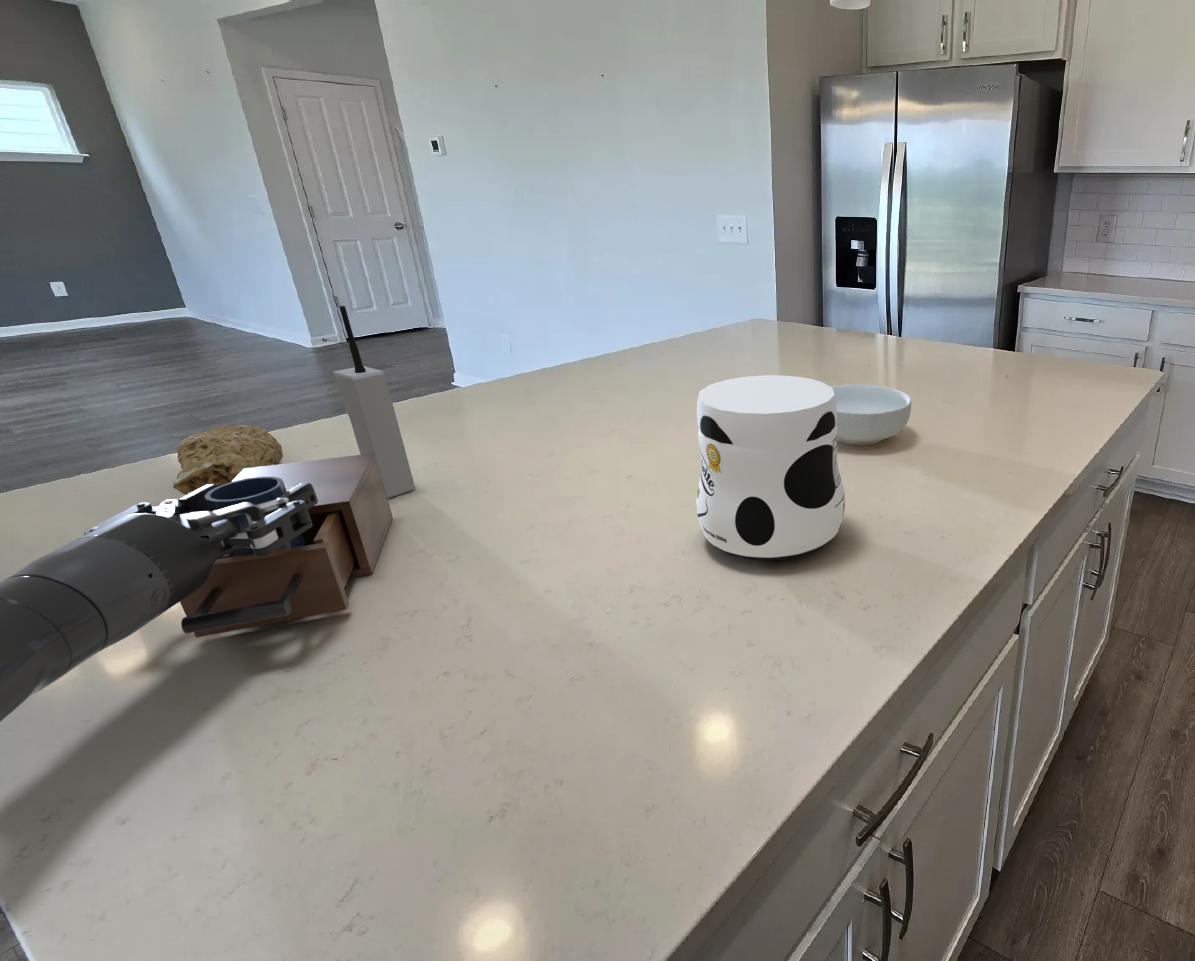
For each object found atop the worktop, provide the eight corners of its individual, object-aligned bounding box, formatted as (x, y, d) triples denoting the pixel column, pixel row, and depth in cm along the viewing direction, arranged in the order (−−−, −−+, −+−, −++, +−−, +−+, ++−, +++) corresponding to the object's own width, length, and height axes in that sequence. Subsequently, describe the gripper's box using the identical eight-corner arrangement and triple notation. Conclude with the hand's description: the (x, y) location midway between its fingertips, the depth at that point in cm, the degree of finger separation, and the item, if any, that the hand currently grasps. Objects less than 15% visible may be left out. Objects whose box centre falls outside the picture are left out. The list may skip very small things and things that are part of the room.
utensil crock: (237, 611, 65) (194, 505, 61) (256, 582, 70) (217, 481, 66) (309, 598, 67) (272, 495, 63) (323, 570, 72) (289, 472, 68)
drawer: (332, 645, 63) (308, 579, 60) (166, 679, 58) (133, 609, 56) (371, 546, 79) (354, 491, 76) (245, 567, 75) (222, 509, 72)
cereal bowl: (904, 459, 108) (906, 415, 105) (799, 452, 110) (798, 409, 107) (913, 424, 123) (915, 385, 120) (821, 418, 125) (821, 380, 123)
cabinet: (372, 574, 76) (349, 501, 72) (224, 600, 71) (192, 522, 67) (393, 517, 88) (374, 452, 84) (268, 536, 83) (243, 468, 80)
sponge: (282, 503, 94) (305, 430, 109) (247, 457, 89) (275, 387, 104) (167, 535, 91) (207, 456, 105) (123, 489, 86) (171, 412, 100)
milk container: (674, 532, 85) (658, 389, 78) (790, 494, 95) (786, 365, 88) (750, 591, 73) (740, 429, 66) (874, 542, 83) (877, 396, 76)
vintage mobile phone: (396, 482, 98) (345, 301, 88) (416, 489, 96) (366, 304, 86) (367, 491, 95) (312, 305, 85) (387, 499, 93) (332, 309, 83)
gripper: (192, 537, 51) (330, 455, 66) (-18, 541, 50) (170, 457, 65) (228, 622, 54) (352, 526, 69) (30, 628, 53) (200, 528, 68)
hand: (264, 492), depth 67 cm, fingers open, 8 cm apart
